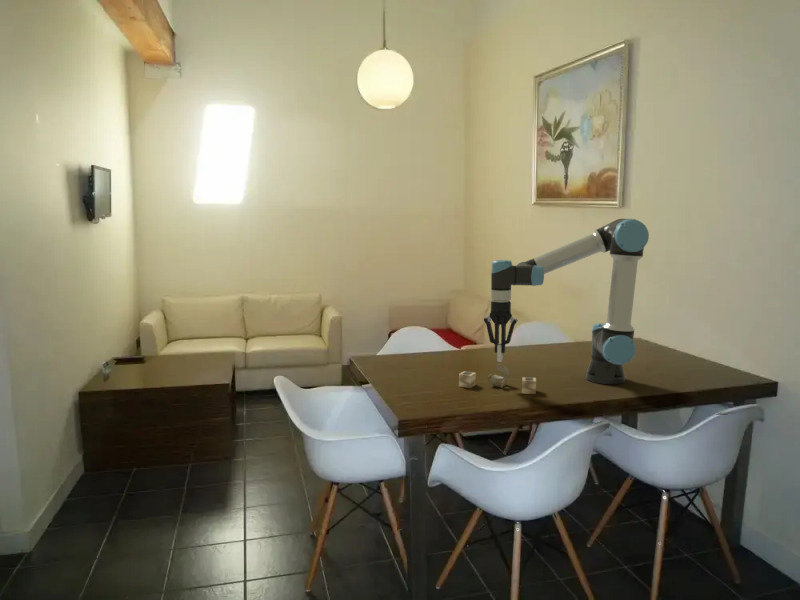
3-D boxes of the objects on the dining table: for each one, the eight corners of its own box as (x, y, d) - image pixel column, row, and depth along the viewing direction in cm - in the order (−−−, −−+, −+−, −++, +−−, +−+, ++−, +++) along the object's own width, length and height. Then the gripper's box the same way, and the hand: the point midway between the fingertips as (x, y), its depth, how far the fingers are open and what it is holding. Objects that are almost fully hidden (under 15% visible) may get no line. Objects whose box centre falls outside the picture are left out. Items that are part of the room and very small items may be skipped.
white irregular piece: (491, 386, 237) (489, 361, 241) (486, 390, 243) (484, 366, 247) (512, 386, 238) (510, 362, 242) (507, 391, 244) (505, 366, 248)
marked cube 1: (475, 385, 245) (475, 372, 244) (470, 388, 240) (470, 375, 240) (464, 383, 247) (464, 370, 246) (458, 386, 243) (458, 373, 242)
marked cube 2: (535, 390, 237) (535, 377, 236) (535, 394, 232) (536, 380, 232) (522, 389, 238) (522, 376, 237) (522, 393, 233) (522, 380, 232)
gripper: (519, 300, 239) (518, 360, 242) (486, 298, 243) (485, 357, 247) (516, 302, 232) (514, 364, 235) (481, 301, 236) (480, 361, 240)
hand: (499, 360), depth 241 cm, fingers closed
